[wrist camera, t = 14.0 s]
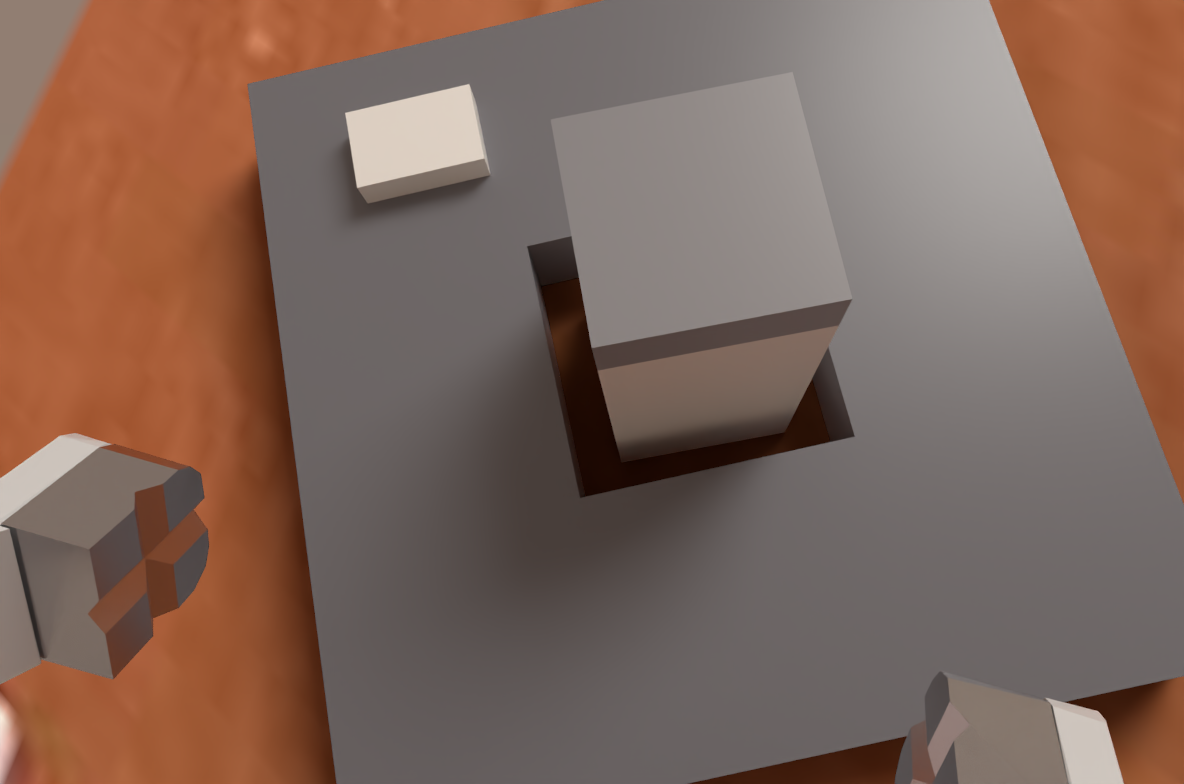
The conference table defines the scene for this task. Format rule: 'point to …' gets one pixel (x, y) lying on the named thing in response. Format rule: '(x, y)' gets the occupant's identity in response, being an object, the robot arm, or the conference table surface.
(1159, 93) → the conference table surface
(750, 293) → the plug
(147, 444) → the conference table surface
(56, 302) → the conference table surface
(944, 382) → the socket plate
